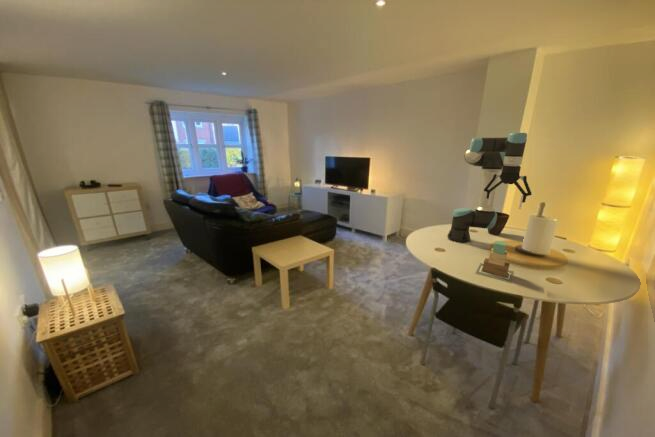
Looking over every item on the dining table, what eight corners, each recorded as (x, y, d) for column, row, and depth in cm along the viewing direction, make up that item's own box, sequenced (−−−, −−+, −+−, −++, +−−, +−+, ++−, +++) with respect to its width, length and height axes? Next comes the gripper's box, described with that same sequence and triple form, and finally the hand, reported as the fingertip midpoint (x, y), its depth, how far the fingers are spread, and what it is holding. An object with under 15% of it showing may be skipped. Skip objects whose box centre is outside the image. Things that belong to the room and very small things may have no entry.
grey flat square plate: (480, 265, 149) (480, 262, 149) (513, 273, 139) (514, 271, 139) (474, 275, 137) (475, 273, 137) (511, 285, 127) (511, 283, 127)
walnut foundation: (483, 267, 143) (485, 257, 141) (507, 273, 136) (509, 263, 135) (482, 271, 139) (484, 261, 137) (506, 277, 132) (508, 267, 131)
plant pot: (503, 232, 205) (507, 212, 200) (507, 238, 192) (511, 217, 187) (482, 229, 211) (485, 210, 206) (484, 235, 198) (487, 215, 193)
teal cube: (493, 249, 138) (495, 240, 136) (504, 251, 135) (506, 242, 133) (492, 252, 134) (494, 243, 132) (504, 254, 131) (505, 245, 129)
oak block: (490, 258, 141) (492, 248, 139) (505, 261, 137) (507, 251, 135) (488, 262, 136) (490, 252, 134) (504, 266, 131) (506, 255, 130)
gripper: (482, 164, 132) (475, 204, 138) (544, 167, 117) (533, 211, 123) (484, 163, 138) (478, 202, 144) (544, 165, 123) (534, 208, 129)
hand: (503, 206), depth 134 cm, fingers open, 13 cm apart
